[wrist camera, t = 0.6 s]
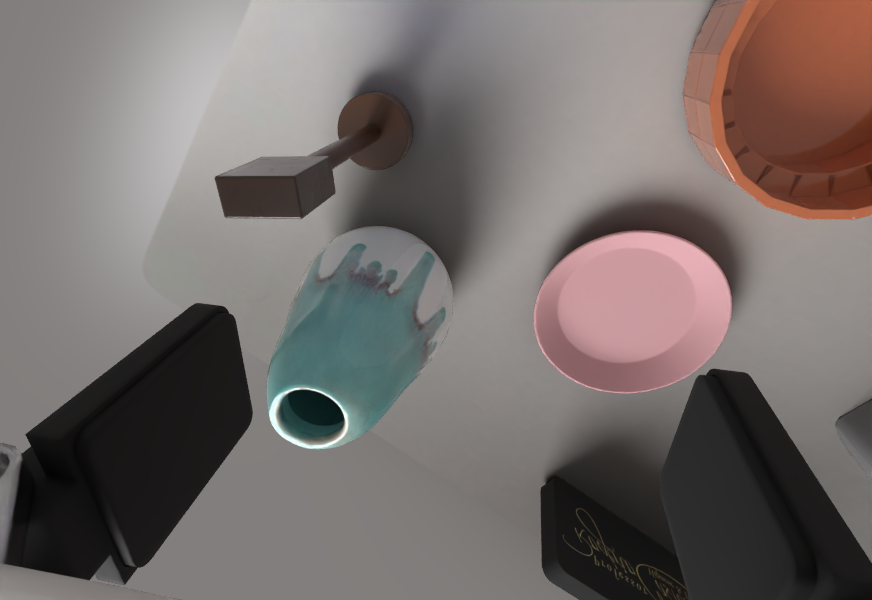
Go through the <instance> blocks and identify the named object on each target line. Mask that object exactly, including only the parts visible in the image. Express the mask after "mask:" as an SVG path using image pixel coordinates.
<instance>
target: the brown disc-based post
mask: <svg viewBox="0 0 872 600" xmlns="http://www.w3.org/2000/svg"><path fill="white" fill-rule="evenodd" d="M338 135H339V140H338V141H336V142H334V143H332V144H330V145H328V146H326V147H324V148H322V149H320V150H318V151H316V152H314V153H312V154H310V155H308V156H300V157H261V158H258V159H256V160H253V161H251V162H249V163H246V164H244V165H242V166H239V167H237V168H235V169H232V170H230V171H228V172H225V173H223V174H220V175H218V176H216V177H215V181H216V185H217V189H218V193H219V197H220V200H221V204H222V208H223V212H224V216H225V218H272V219H302V218H304V217H305V216H306V215H308V214H309V213H310V212H311V211H313V210H314V209H315V208H317V207H318V206H319V205H321V204H322V203H323V202H325V201H326V200H327V199H328V198H330V197H331V196H332V195H334V194H335V185H334V178H333V171H332V169H334V168H335V167H337V166H338V165H340V164H341V163H343V162H345V161H346V160H348V159H349V158H350V159H351V160H353V161H354V162H355V163H357V164H358V165H360V166H362V167H364V168H367V169H372V170H381V169H386V168H388V167H391V166H392V165H394V164H395V163H397V162H398V161H399V160H400V159H401V158H402V157H403V156H404V155H405V154H406V153H407V151H408V149H409V148H410V145H411V142H412V138H413V125H412V121H411V118H410V115H409V113H408V111H407V109H406V108H405V106H404V105H403V104H402V103H401V102H400V101H399V100H398V99H397V98H395V97H394V96H392V95H390V94H387V93H384V92H377V91H374V92H368V93H365V94H361V95H359V96H356V97H354V98H353V99H351V100H350V101H349V102H348V103H347V104H346V105H345V107H344V108H343V110H342V112H341V114H340V117H339V121H338Z"/></svg>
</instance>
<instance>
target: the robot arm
mask: <svg viewBox="0 0 872 600" xmlns="http://www.w3.org/2000/svg"><path fill="white" fill-rule="evenodd" d="M252 413H253V412H252V405H251V400H250V395H249V389H248V384H247V378H246V374H245V369H244V363H243V357H242V352H241V347H240V341H239V336H238V331H237V325H236V321H235V318H234V316H233V315H231V314H229V312H228V310H227V309H226V308H225V307H223V306H217V305H209V304H202V303H196V304H194V305H192V306H191V307H189V308H188V309H187V310H185V311H184V312H183V313H182V314H181V315H179V316H178V317H176V318H175V319H174V320H173V321H171V322H170V323H169V324H167V325H166V326H165V327H164V328H162V329H161V330H160V331H158V332H157V333H156V334H155V335H153V336H152V337H151V338H149V339H148V340H147V341H145V342H144V343H143V344H142V345H141V346H139V347H138V348H136V349H135V350H134V351H133V352H131V353H130V354H129V355H127V356H126V357H125V358H124V359H122V360H121V361H120V362H118V363H117V364H116V365H114V366H113V367H112V368H111V369H109V370H108V371H107V372H105V373H104V374H103V375H102V376H100V377H99V378H98V379H96V380H95V381H94V382H92V383H91V384H90V385H89V386H87V387H86V388H85V389H83V390H82V391H81V392H80V393H78V394H77V395H76V396H75V397H73V398H72V399H71V400H69V401H68V402H67V403H65V404H64V405H63V406H62V407H60V408H59V409H58V410H56V411H55V412H54V413H52V414H51V415H50V416H49V417H47V418H46V419H45V420H43V421H42V422H41V423H40V424H38V425H37V426H36V427H34V428H33V429H32V430H31V431H29V432H28V433H27V434H26V436H27V438H28V440H29V443H30V445H31V447H30V448H29V449H27V450H26V451H25V452H24V453H22V454H21V452H20V451H19V450H18V449H17V448H16V447H15V446H12V445H9V444H5V443H0V600H180V599H175V598H171V597H166V596H161V595H156V594H151V593H147V592H142V591H137V590H133V589H128V588H124V587H119V586H114V585H110V584H104V583H100V582H95V581H90V579H91V578H92V576H93V575H94V574H95V575H96V577H97V579H99V580H103V581H108V582H112V583H117V584H121V585H125V584H126V582H127V581H128V580H129V579H130V577H131V576H132V575H133V573H134V572H135V571H136V569H137V568H138V567H143V566H145V565H146V564H147V563H148V562H149V561H150V560H151V559H152V557H153V556H154V555H155V553H156V552H157V551H158V549H159V548H160V547H161V545H162V544H163V543H164V541H165V539H166V538H167V537H168V536H169V534H170V533H171V532H172V530H173V529H174V528H175V526H176V525H177V524H178V522H179V521H180V519H181V518H182V517H183V515H184V514H185V513H186V511H187V510H188V509H189V507H190V506H191V505H192V503H193V502H194V501H195V499H196V498H197V496H198V495H199V494H200V492H201V491H202V489H203V488H204V487H205V485H206V484H207V483H208V481H209V480H210V479H211V477H212V476H213V475H214V473H215V472H216V471H217V469H218V468H219V467H220V465H221V464H222V463H223V461H224V460H225V458H226V457H227V456H228V454H229V453H230V452H231V450H232V449H233V447H234V446H235V445H236V444H237V442H238V440H239V439H240V438H241V437H242V435H243V434H244V433H245V431H246V430H247V429H248V427H249V425H250V423H251V420H252ZM659 491H660V496H661V500H662V503H663V507H664V511H665V514H666V518H667V521H668V525H669V528H670V532H671V536H672V539H673V543H674V546H675V550H676V553H677V557H678V561H679V564H680V568H681V571H682V575H683V578H684V582H685V586H686V589H687V593H688V596H689V600H872V563H871V562H870V560H869V558H868V557H867V555H866V554H865V552H864V551H863V549H862V548H861V546H860V545H859V543H858V542H857V540H856V538H855V537H854V535H853V534H852V532H851V531H850V529H849V528H848V526H847V525H846V523H845V521H844V520H843V518H842V517H841V515H840V514H839V512H838V511H837V509H836V508H835V506H834V504H833V503H832V501H831V500H830V498H829V497H828V495H827V494H826V492H825V491H824V489H823V488H822V486H821V484H820V483H819V481H818V480H817V478H816V477H815V475H814V474H813V472H812V471H811V469H810V467H809V466H808V464H807V463H806V461H805V460H804V458H803V457H802V455H801V454H800V452H799V451H798V449H797V447H796V446H795V444H794V443H793V441H792V440H791V438H790V437H789V435H788V434H787V432H786V430H785V429H784V427H783V426H782V424H781V423H780V421H779V420H778V418H777V417H776V415H775V413H774V412H773V410H772V409H771V407H770V406H769V404H768V403H767V401H766V400H765V398H764V397H763V395H762V393H761V392H760V390H759V389H758V387H757V386H756V384H755V383H754V381H753V380H752V378H751V377H750V376H749V375H748V374H747V373H743V372H736V371H728V370H720V369H711V370H710V371H709V372H708V373H707V375H699V376H698V377H697V378H696V380H695V383H694V385H693V388H692V391H691V394H690V396H689V399H688V402H687V404H686V407H685V410H684V413H683V415H682V418H681V421H680V423H679V426H678V429H677V432H676V434H675V437H674V440H673V442H672V445H671V448H670V451H669V453H668V456H667V459H666V461H665V464H664V467H663V470H662V472H661V475H660V481H659Z"/></svg>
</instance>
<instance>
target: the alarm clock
mask: <svg viewBox="0 0 872 600" xmlns="http://www.w3.org/2000/svg"><path fill="white" fill-rule="evenodd" d="M835 425H836V428H837V431H838V434H839V437H840V439H841V441H842V442H843V444H844V445H845V447H846V448H847V450H848V451H849V453H850V454H851V456H852V457H853V458H854V459H855V461H856V462H857V463H858V464H859V466H860V467H861V468H862V469H863V471H864V472H865V473H866V474H867V475H868V477H869V478H870V479H871V480H872V400H870V401H868V402H867V403H865V404H863V405H862V406H860V407H858V408H856V409H855V410H853V411H851V412H849V413H848V414H846V415H844V416H843V417H841V418H839V419H838V421H837V422H836V424H835Z"/></svg>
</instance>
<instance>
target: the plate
mask: <svg viewBox="0 0 872 600" xmlns="http://www.w3.org/2000/svg"><path fill="white" fill-rule="evenodd" d="M731 316H732V295H731V290H730V287H729V283H728V281H727V278H726V276H725V274H724V273H723V271H722V269H721V268H720V266H719V265H718V264H717V262H716V261H715V260H714V259H713V258H712V257H711V256H710V255H709V254H708V253H707V252H705V251H704V250H703V249H701V248H700V247H699V246H697V245H695V244H694V243H692V242H690V241H688V240H686V239H683V238H681V237H678V236H675V235H672V234H668V233H664V232H658V231H649V230H633V231H623V232H617V233H613V234H609V235H605V236H602V237H599V238H597V239H594V240H592V241H589V242H587V243H585V244H583V245H582V246H580V247H578V248H577V249H575V250H573V251H572V252H571V253H569V254H568V255H567V256H565V257H564V258H563V259H562V260H561V261H560V262H559V263H558V264H557V265H556V266H555V267H554V268H553V269H552V270H551V272H550V273H549V274H548V276H547V277H546V279H545V281H544V282H543V284H542V286H541V288H540V290H539V293H538V296H537V299H536V302H535V308H534V328H535V333H536V337H537V340H538V343H539V345H540V347H541V349H542V351H543V353H544V354H545V356H546V357H547V359H548V360H549V361H550V362H551V363H552V364H553V366H554V367H556V368H557V369H558V370H559V371H560V372H561V373H563V374H564V375H565V376H567V377H568V378H570V379H572V380H573V381H575V382H577V383H579V384H581V385H584V386H586V387H589V388H592V389H596V390H600V391H605V392H612V393H638V392H646V391H651V390H655V389H659V388H662V387H665V386H668V385H671V384H673V383H675V382H678V381H680V380H682V379H683V378H685V377H687V376H689V375H690V374H692V373H693V372H695V371H696V370H697V369H699V368H700V367H701V366H702V365H703V364H705V363H706V362H707V361H708V360H709V359H710V358H711V356H712V355H713V354H714V353H715V352H716V350H717V349H718V348H719V346H720V345H721V343H722V341H723V339H724V337H725V335H726V333H727V331H728V328H729V325H730V321H731Z"/></svg>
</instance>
